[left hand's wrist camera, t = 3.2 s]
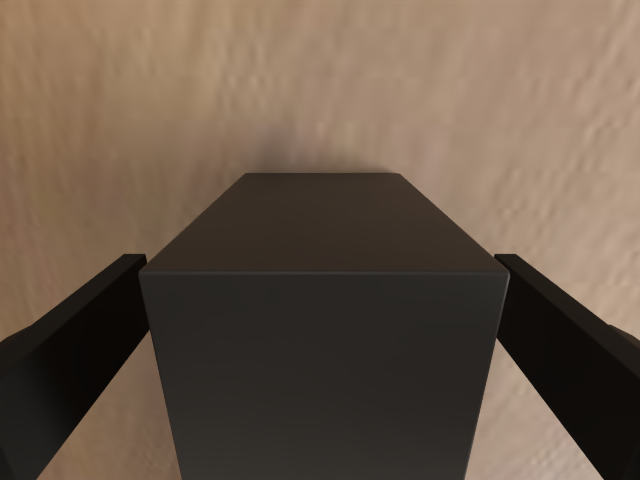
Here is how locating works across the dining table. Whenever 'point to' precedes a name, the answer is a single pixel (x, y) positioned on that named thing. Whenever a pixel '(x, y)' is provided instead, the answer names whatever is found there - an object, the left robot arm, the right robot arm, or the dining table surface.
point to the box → (323, 332)
